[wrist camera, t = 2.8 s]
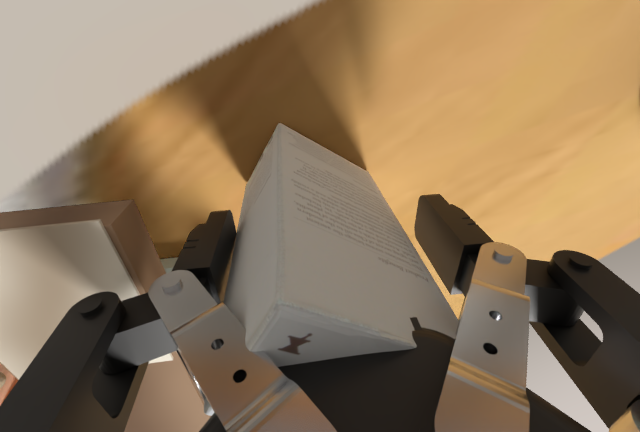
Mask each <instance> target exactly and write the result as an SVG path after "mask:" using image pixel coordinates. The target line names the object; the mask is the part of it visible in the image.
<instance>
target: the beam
mask: <svg viewBox="0 0 640 432" xmlns="http://www.w3.org/2000/svg"><path fill="white" fill-rule="evenodd" d="M164 274H166V272H165V269H164V267H163V265H162V263H161V260H160V258H159V256H158V254H157V251H156V249H155V247H154V245H153V242H152V240H151V238H150V235H149V233H148V231H147V229H146V226H145V224H144V222H143V220H142V217H141V215H140V213H139V211H138V208H137V206H136V204H135V201H134V199H132V200H122V201H112V202H102V203H92V204H82V205H72V206H62V207H52V208H42V209H32V210H22V211H12V212H2V213H0V364H1V365H2V366H3V367H5V368H6V369H7V370H8V371H9V372H10V373H11V374H12V375H13V376H14V377H15V378H16V379H17V380H19V379H20V377H21V376H22V375H23V373H24V372H25V370H26V369H27V368H28V366H29V365H30V363H31V362H32V361H33V359H34V358H35V356H36V355H37V354H38V352H39V351H40V349H41V348H42V347H43V345H44V344H45V342H46V341H47V340H48V338H49V337H50V335H51V334H52V333H53V331H54V330H55V328H56V327H57V326H58V324H59V323H60V321H61V320H62V319H63V317H64V316H65V314H66V313H67V312H68V311H69V309H70V308H71V307H72V306H73V305H75V304H76V303H77V302H79V301H80V300H82V299H84V298H86V297H88V296H90V295H92V294H95V293H99V292H106V291H109V292H114V293H116V294H117V295H118V296H119V298H120V300H121V301H123V300H126V299H129V298H132V297H135V296H139V295H142V294H145V293H147V292H148V291H149V288H150V286H151V284H152V283H153V282H154V281H155V280H156V279H158V278H159V277H161V276H162V275H164ZM210 417H211V416H208V415H206V414H205V413H204V402H203V400H202V398H201V396H200V394H199V392H198V390H197V388H196V387H195V385H194V383H193V381H192V379H191V378H190V376H189V374H188V372H187V370H186V368H185V367H184V365H183V363H182V361H181V359H180V358H179V356H178V354H177V352H176V351H174V352H172V353H169V354H166V355H164V356H161V357H159V358H156V359H153V360H151V361H149V363H148V366H147V369H146V372H145V375H144V377H143V380H142V383H141V386H140V389H139V391H138V394H137V397H136V400H135V403H134V405H133V408H132V411H131V414H130V417H129V419H128V422H127V425H126V428H125V431H124V432H199V431H200V429H201V428H202V427H203V426H204V425H205V423H206V422H207V421H208V420H209V418H210Z"/></svg>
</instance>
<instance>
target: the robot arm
mask: <svg viewBox="0 0 640 432" xmlns="http://www.w3.org/2000/svg"><path fill="white" fill-rule="evenodd" d="M236 234H237V233H236V229H235V225H234V220H233V216H232V213H231V211H230V210H225V211H213V212H211V213H210V215H209V218H208V220H207V222H206V224H199V225H198V226H197V227H196V228H195V229H193V230H192V231H191V232H190V234H189V236H188V238H187V240H186V241H187V242H185V244H184V246H183V249H182V251H181V253H180V255H179V257H178V259H177V261H176V263H175V265H174V267H173V269H172V271H171V272H169V273H166V274H164V275H162V276H161V277H159V278H158V279H156V280H155V281H154V282H153V283H152V284H151V286H150V288H149V291H148V292H147V293H145V294H142V295H139V296H135V297H132V298H129V299H126V300H123V301H121V300H120V298H119V296H118V295H117V294H116V293H114V292H109V291H106V292H99V293H95V294H92V295H90V296H88V297H86V298H84V299H82V300H80V301H79V302H77V303H76V304H75V305H73V306H72V307H71V308H70V309H69V311H68V312H67V313H66V314H65V316H64V317H63V319H62V320H61V321H60V323H59V324H58V326H57V327H56V328H55V330H54V331H53V333H52V334H51V335H50V337H49V338H48V340H47V341H46V342H45V344H44V345H43V347H42V348H41V349H40V351H39V352H38V354H37V355H36V356H35V358H34V359H33V361H32V362H31V363H30V365H29V366H28V368H27V369H26V370H25V372H24V373H23V375H22V376H21V377H20V379H19V380H18V382H17V383H16V384H15V386H14V387H13V389H12V390H11V391H10V393H9V394H8V396H7V397H6V399H5V400H4V401H3V403H2V404H1V406H0V432H124V431H125V428H126V425H127V422H128V419H129V417H130V414H131V411H132V408H133V405H134V403H135V400H136V397H137V394H138V391H139V389H140V386H141V383H142V380H143V377H144V375H145V372H146V369H147V366H148V363H149V361H151V360H153V359H156V358H159V357H161V356H164V355H166V354H169V353H172V352H174V351H176V352H177V354H178V356H179V358H180V359H181V361H182V363H183V365H184V367H185V368H186V370H187V372H188V374H189V376H190V378H191V379H192V381H193V383H194V385H195V387H196V388H197V390H198V392H199V394H200V396H201V398H202V400H203V402H205V398H206V399H207V400H208V402H209V404H210V406H211V407H212V409H213V411H214V413H213V415H212V416H211V417H210V418H209V420H208V421H207V422H206V423H205V425H204V426H203V427H202V428H201V429H200V431H199V432H591V431H590V430H588V429H587V428H585V427H584V426H582V425H581V424H579V423H578V422H576V421H575V420H573V419H572V418H570V417H569V416H568V415H566V414H565V413H563V412H562V411H560V410H559V409H557V408H556V407H554V406H553V405H551V404H550V403H548V402H547V401H546V400H544V399H543V398H541V397H540V396H538V395H537V394H535V393H534V392H532V391H531V390H529V389H528V388H526V376H527V356H528V355H527V354H528V336H529V335H528V334H529V323H530V324H531V325H532V327H533V328H534V329H535V331H536V332H537V334H538V335H539V336H540V337H541V339H542V340H543V341H544V343H545V344H546V346H547V347H548V348H549V350H550V351H551V352H552V353H553V355H554V356H555V357H556V359H557V360H558V361H559V363H560V364H561V365H562V367H563V368H564V370H565V371H566V372H567V374H568V375H569V376H570V378H571V379H572V380H573V382H574V383H575V384H576V386H577V387H578V388H579V390H580V391H581V392H582V394H583V395H584V396H585V398H586V399H587V400H588V402H589V403H590V404H591V406H592V407H593V408H594V410H595V411H596V412H597V414H598V415H599V416H600V418H601V419H602V420H603V422H604V423H605V424H606V426H607V427H608V428H609V432H640V294H639V293H638V292H636V291H635V290H634V289H633V288H631V287H630V286H629V285H628V284H626V283H625V282H624V281H623V280H622V279H620V278H619V277H618V276H617V275H615V274H614V273H613V272H612V271H610V270H609V269H608V268H607V267H605V266H604V265H603V264H601V263H600V262H599V261H598V260H596V259H594V258H592V257H590V256H588V255H586V254H583V253H580V252H576V251H569V250H562V251H557V252H555V253H554V255H553V257H552V259H551V261H550V262H547V261H539V260H531V259H526V257H525V255H524V254H523V253H522V252H521V251H520V250H518V249H516V248H515V247H513V246H510V245H507V244H504V243H498V242H494V241H493V240H492V239H491V238H490V237H489V236H488V235H487V234H486V233H485V232H484V231H483V230H482V229H481V228H480V227H479V226H478V225H476V223H475V222H474V221H473V220H472V219H470V217H469V216H468V215H467V214H466V213H465V212H464V211H463V210H462V209H460V208H458V207H456V206H455V205H453V204H450V205H449V203H448V202H447V201H446V200H445V199H444V198H443V197H442V196H441V195H440V194H433V195H422V196H420V198H419V201H418V208H417V214H416V220H415V236H416V239H417V241H418V242H419V244H420V246H421V247H422V249H423V250H424V252H425V254H426V255H427V257H428V259H429V260H430V262H431V263H432V265H433V267H434V268H435V270H436V272H437V273H438V275H439V277H440V278H441V280H442V281H443V283H444V285H445V286H446V288H447V290H448V291H449V293H450V294H451V295H452V294H462V293H463V294H464V296H465V299H464V302H463V305H462V309H461V312H460V316H459V319H458V320H459V322H458V326H457V329H456V333H455V334H456V337H455V339H454V338H452V337H450V336H448V335H446V334H444V333H441V332H438V331H435V330H432V329H428V328H423V327H421V326H420V323H419V321H418V319H417V317H412V318H410V320H411V322H412V325H413V327H414V330H415V331H412V337H413V340H414V341H415V343H416V345H417V347H416V348H414V349H408V350H399V351H388V352H378V353H370V354H362V355H355V356H348V357H341V358H334V359H327V360H321V361H314V362H307V363H301V364H294V365H287V366H280V367H277V366H276V365H275V363H274V362H273V361H272V360H271V359H270V357H269V356H268V355H267V354H266V353H265V351H257V352H253V351H249V350H248V349H247V347H246V344H245V336H246V329H245V328H244V326H243V325H242V324H241V323H240V322H239V320H238V319H237V318H236V317H235V316H234V314H233V313H232V312H231V311H230V310H229V308H228V307H227V306H226V305H225V304H224V303H223V302H224V296H225V291H226V286H227V282H228V276H229V271H230V266H231V260H232V255H233V250H234V245H235V240H236ZM583 311H585V312H586V313H587V314H588V315H589V316H590V317H591V318H592V319H593V320H594V321H595V322H596V323H597V324H598V325H599V327H600V328H601V330H602V333H603V342H601V341H600V340H599V339H598V338H597V337H596V336H595V335H594V334H593V333H592V331H591V330H590V329H589V328H588V327H587V326H586V325H585V324H584V323H583V322H582V321H581V320H580V319H579V318H580V316H581V315H582V313H583Z"/></svg>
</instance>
